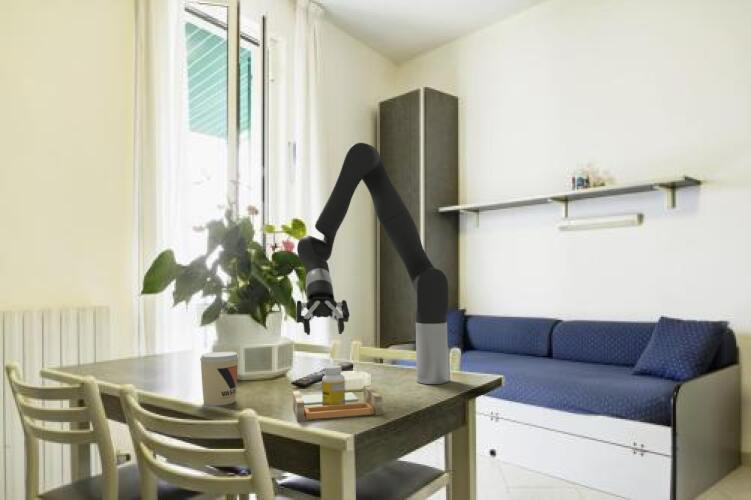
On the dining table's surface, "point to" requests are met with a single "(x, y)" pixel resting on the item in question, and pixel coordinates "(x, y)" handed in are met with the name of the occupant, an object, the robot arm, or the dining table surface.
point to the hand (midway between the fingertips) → (324, 332)
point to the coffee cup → (219, 377)
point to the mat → (318, 398)
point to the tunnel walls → (369, 397)
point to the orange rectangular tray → (338, 411)
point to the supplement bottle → (333, 386)
